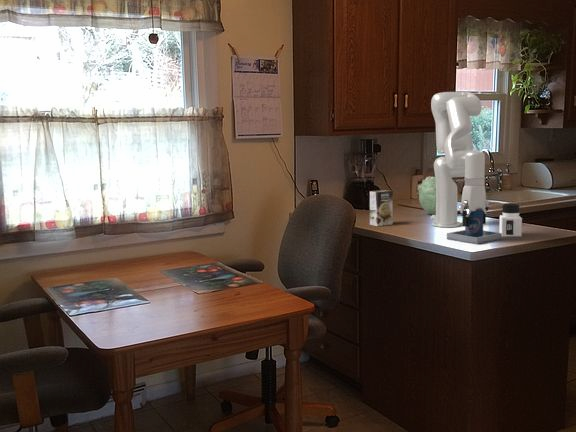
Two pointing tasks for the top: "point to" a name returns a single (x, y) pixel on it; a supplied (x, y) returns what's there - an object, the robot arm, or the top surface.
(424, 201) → the cabbage
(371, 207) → the coffee box
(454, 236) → the tray
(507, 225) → the container
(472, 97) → the robot arm
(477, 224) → the soda can
